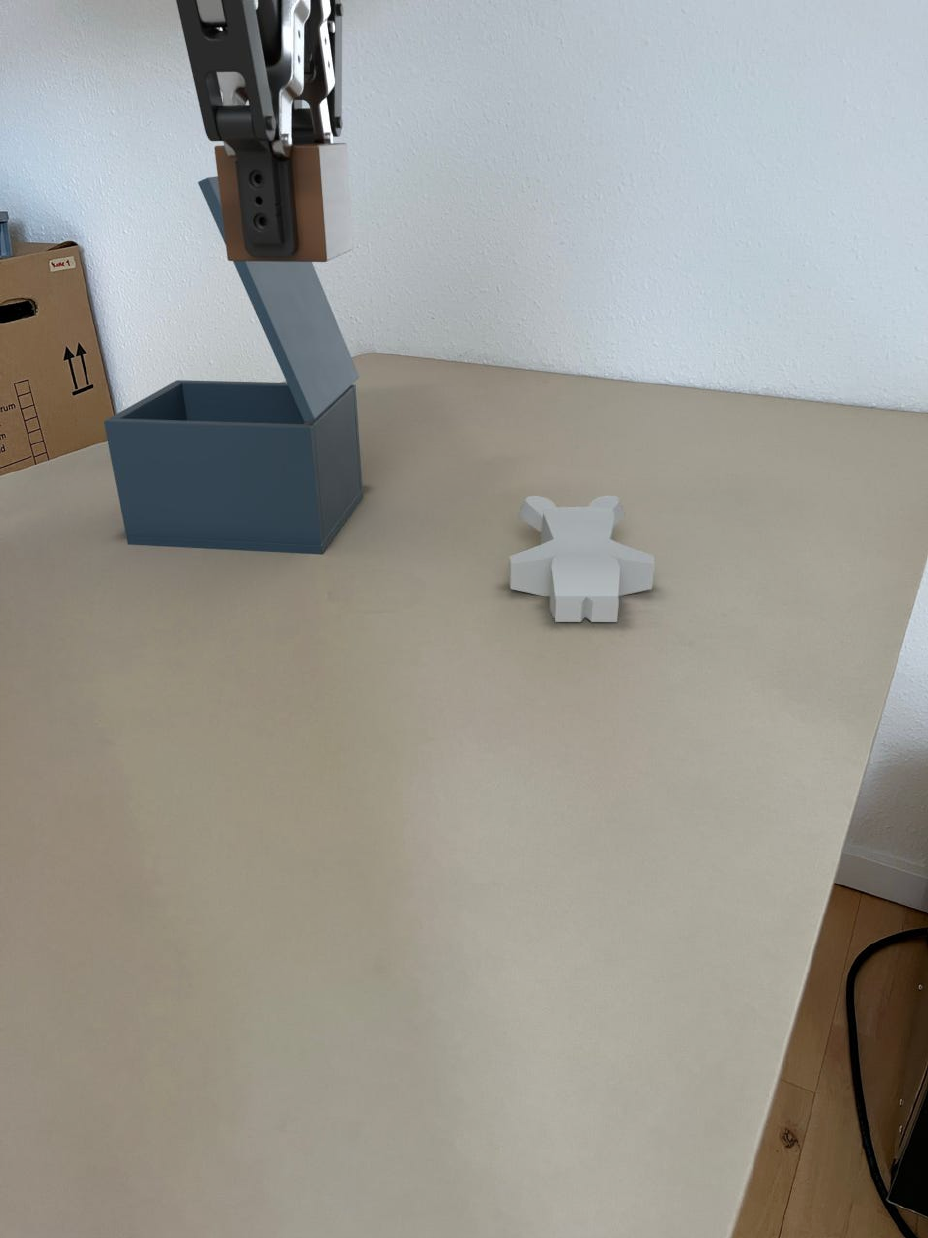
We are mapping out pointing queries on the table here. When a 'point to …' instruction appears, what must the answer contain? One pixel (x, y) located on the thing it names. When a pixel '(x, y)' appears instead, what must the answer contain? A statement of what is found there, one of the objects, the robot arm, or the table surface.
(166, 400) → the bin
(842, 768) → the table surface
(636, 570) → the white teddy bear figure
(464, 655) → the table surface
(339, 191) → the block
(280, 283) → the bin lid
